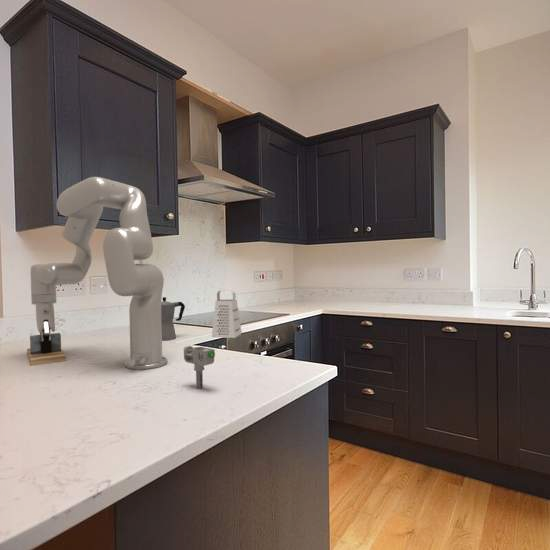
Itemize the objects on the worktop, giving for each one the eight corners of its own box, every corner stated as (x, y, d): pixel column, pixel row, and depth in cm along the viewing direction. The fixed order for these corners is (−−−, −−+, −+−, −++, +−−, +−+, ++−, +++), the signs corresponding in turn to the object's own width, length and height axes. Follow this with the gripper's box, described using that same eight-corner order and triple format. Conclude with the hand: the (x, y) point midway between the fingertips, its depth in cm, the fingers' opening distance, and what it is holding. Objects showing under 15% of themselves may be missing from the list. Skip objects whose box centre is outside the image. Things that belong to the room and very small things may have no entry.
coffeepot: (151, 342, 158) (150, 298, 158) (147, 338, 167) (146, 297, 166) (188, 338, 165) (187, 296, 165) (182, 335, 174) (181, 295, 173)
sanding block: (59, 349, 139) (59, 332, 139) (61, 351, 136) (60, 334, 136) (30, 352, 134) (29, 335, 134) (31, 354, 131) (30, 337, 131)
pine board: (66, 360, 128) (66, 356, 128) (30, 365, 123) (30, 360, 123) (58, 348, 148) (57, 345, 148) (27, 352, 142) (27, 348, 142)
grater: (234, 337, 165) (233, 291, 165) (211, 337, 167) (210, 291, 167) (241, 333, 176) (240, 289, 175) (219, 333, 178) (218, 290, 177)
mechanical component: (191, 382, 101) (190, 344, 101) (217, 390, 94) (217, 349, 94) (182, 385, 99) (181, 346, 98) (208, 393, 92) (207, 351, 92)
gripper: (59, 300, 130) (60, 354, 130) (53, 297, 144) (55, 346, 144) (32, 301, 126) (34, 357, 126) (30, 298, 140) (31, 349, 140)
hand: (45, 350), depth 135 cm, fingers closed on sanding block, 4 cm apart
